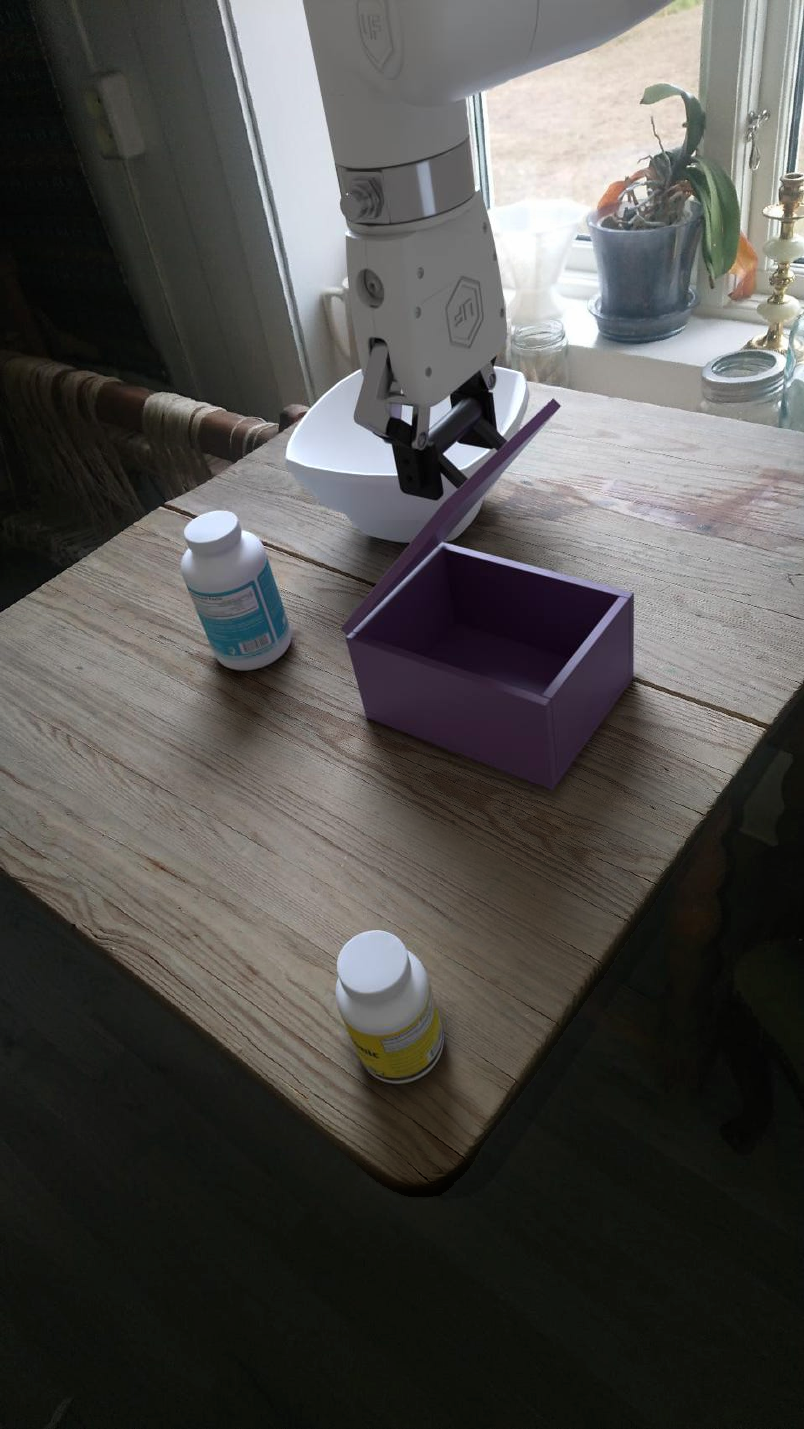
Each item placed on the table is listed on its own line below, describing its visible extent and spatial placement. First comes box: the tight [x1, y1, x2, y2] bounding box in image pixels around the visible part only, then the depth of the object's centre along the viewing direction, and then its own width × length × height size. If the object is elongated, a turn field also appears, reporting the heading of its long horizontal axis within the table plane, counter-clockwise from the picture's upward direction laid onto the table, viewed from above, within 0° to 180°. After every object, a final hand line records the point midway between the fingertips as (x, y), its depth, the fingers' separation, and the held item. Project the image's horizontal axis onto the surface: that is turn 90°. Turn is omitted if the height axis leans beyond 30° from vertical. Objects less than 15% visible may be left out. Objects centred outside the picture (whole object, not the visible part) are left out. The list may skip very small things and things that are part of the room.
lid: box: [340, 397, 562, 636], centre depth 71 cm, size 18×14×5 cm
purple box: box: [345, 542, 635, 791], centre depth 77 cm, size 18×14×9 cm
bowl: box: [284, 365, 531, 544], centre depth 97 cm, size 22×22×12 cm
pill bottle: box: [180, 510, 292, 671], centre depth 86 cm, size 8×7×14 cm
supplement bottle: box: [335, 929, 445, 1085], centre depth 57 cm, size 5×5×10 cm
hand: (450, 466), depth 67 cm, fingers closed on lid, 6 cm apart
